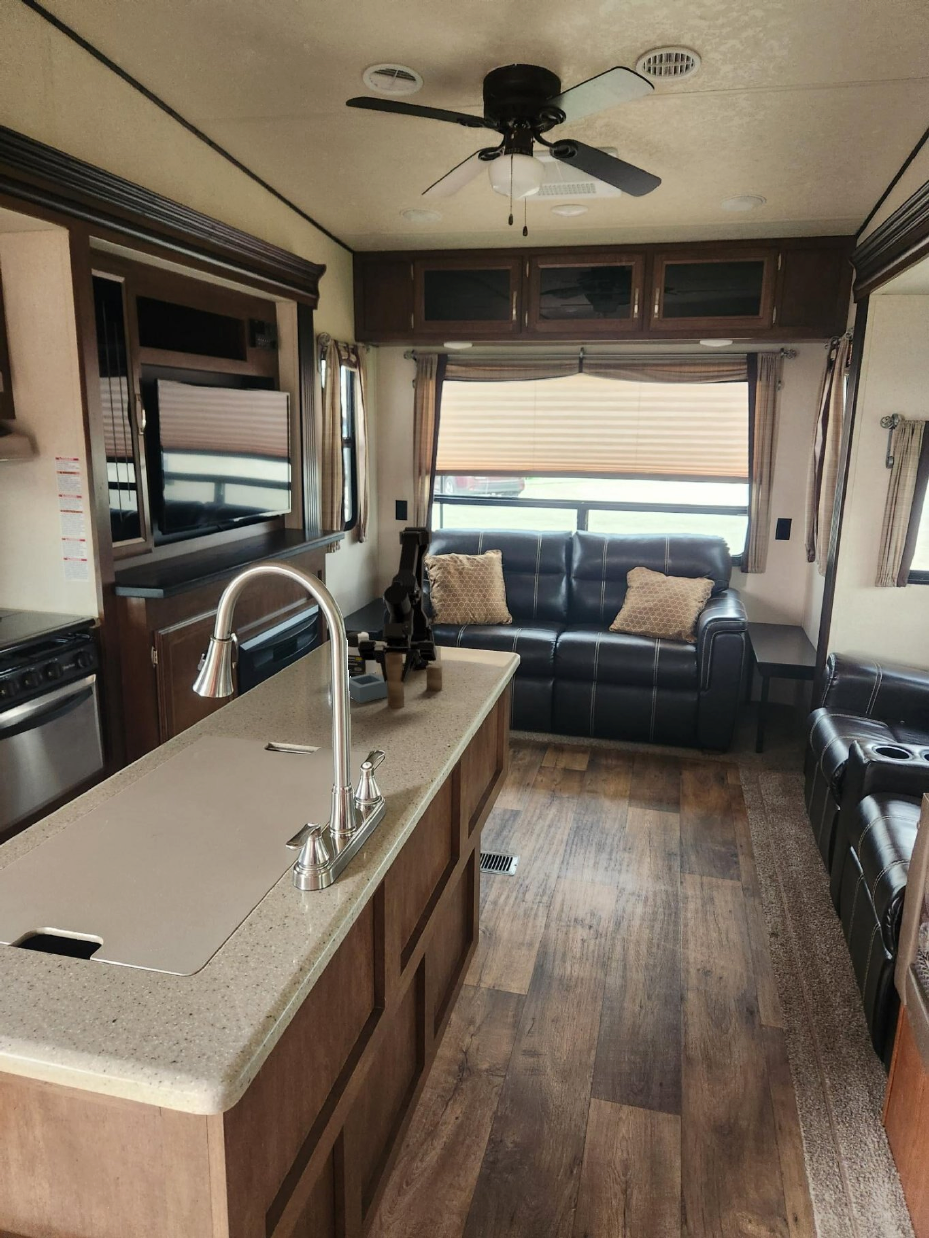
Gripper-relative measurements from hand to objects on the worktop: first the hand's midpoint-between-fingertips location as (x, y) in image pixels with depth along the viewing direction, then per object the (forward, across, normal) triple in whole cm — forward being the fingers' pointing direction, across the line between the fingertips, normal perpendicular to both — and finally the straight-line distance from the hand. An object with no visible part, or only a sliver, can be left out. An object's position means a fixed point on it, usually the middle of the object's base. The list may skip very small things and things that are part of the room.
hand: (393, 681), depth 200 cm
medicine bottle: (-13, -15, +23) cm, 30 cm away
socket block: (-2, -9, +11) cm, 14 cm away
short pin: (-6, +8, +15) cm, 18 cm away
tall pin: (+4, 0, +6) cm, 7 cm away
